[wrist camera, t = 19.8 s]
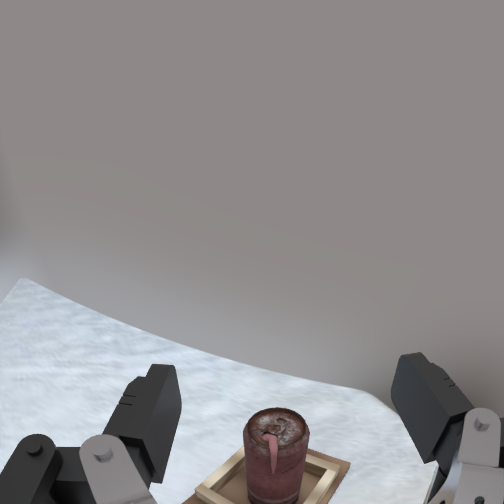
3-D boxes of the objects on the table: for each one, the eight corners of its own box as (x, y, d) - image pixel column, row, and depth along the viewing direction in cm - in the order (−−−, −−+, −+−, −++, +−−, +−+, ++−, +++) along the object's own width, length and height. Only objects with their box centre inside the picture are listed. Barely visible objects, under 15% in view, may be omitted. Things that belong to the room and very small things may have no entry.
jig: (277, 568, 17) (279, 561, 17) (179, 511, 25) (172, 498, 24) (349, 467, 32) (354, 452, 31) (263, 435, 40) (263, 419, 39)
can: (248, 517, 24) (243, 454, 21) (247, 478, 30) (242, 406, 27) (302, 513, 24) (316, 448, 21) (295, 475, 30) (304, 401, 27)
